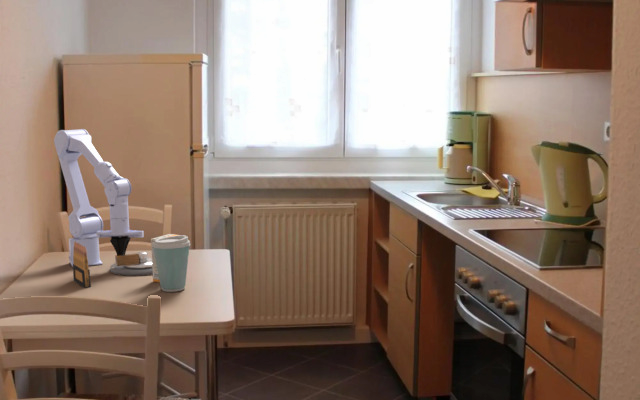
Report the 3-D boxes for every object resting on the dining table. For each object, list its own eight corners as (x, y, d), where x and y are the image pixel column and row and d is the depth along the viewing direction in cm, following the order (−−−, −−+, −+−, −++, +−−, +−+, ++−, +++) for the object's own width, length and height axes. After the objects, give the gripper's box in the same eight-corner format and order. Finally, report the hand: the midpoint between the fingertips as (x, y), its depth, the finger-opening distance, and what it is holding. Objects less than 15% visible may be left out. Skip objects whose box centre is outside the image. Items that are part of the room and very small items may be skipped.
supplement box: (170, 275, 235) (169, 233, 233) (182, 277, 232) (181, 234, 230) (151, 281, 228) (150, 238, 226) (164, 283, 225) (162, 239, 223)
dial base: (115, 278, 232) (115, 274, 231) (106, 265, 250) (106, 261, 250) (181, 271, 239) (181, 267, 239) (167, 259, 258) (167, 255, 257)
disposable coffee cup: (155, 295, 212) (153, 242, 210) (152, 286, 222) (150, 235, 220) (194, 292, 215) (192, 239, 213) (189, 283, 225) (187, 232, 223)
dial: (153, 258, 253) (153, 246, 252) (167, 265, 243) (167, 253, 242) (110, 264, 245) (109, 252, 244) (123, 271, 235) (122, 259, 234)
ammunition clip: (73, 280, 230) (71, 241, 228) (79, 279, 231) (77, 240, 229) (84, 288, 221) (82, 247, 219) (90, 287, 222) (88, 246, 220)
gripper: (145, 215, 245) (147, 257, 247) (101, 215, 246) (103, 257, 248) (139, 219, 238) (141, 262, 240) (93, 219, 239) (95, 261, 241)
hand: (121, 259), depth 243 cm, fingers closed
